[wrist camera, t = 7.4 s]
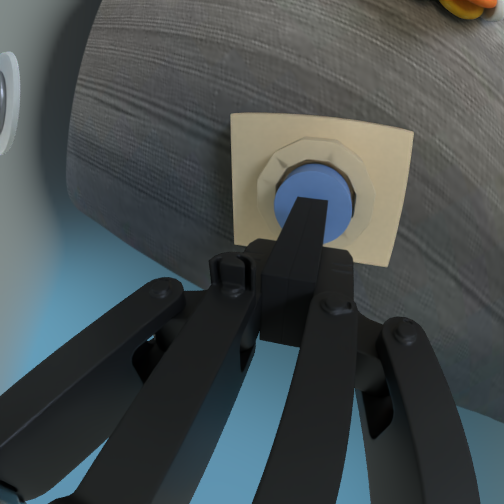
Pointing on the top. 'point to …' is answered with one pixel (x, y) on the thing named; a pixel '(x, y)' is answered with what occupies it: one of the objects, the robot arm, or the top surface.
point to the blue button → (316, 196)
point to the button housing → (326, 153)
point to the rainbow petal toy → (476, 9)
